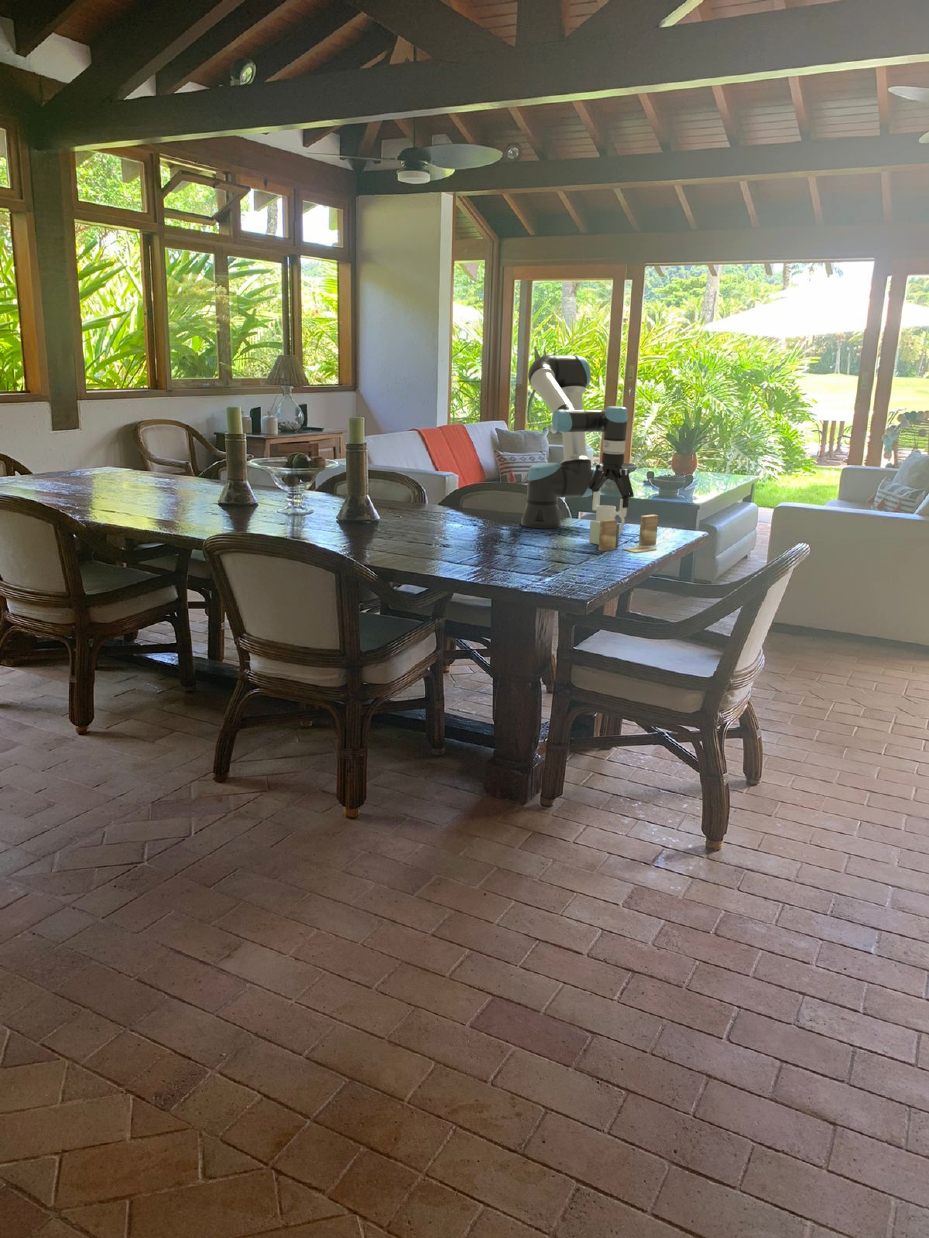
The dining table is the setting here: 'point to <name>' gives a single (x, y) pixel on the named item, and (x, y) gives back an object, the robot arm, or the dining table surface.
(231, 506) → the dining table surface
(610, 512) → the mug
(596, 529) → the gate door
